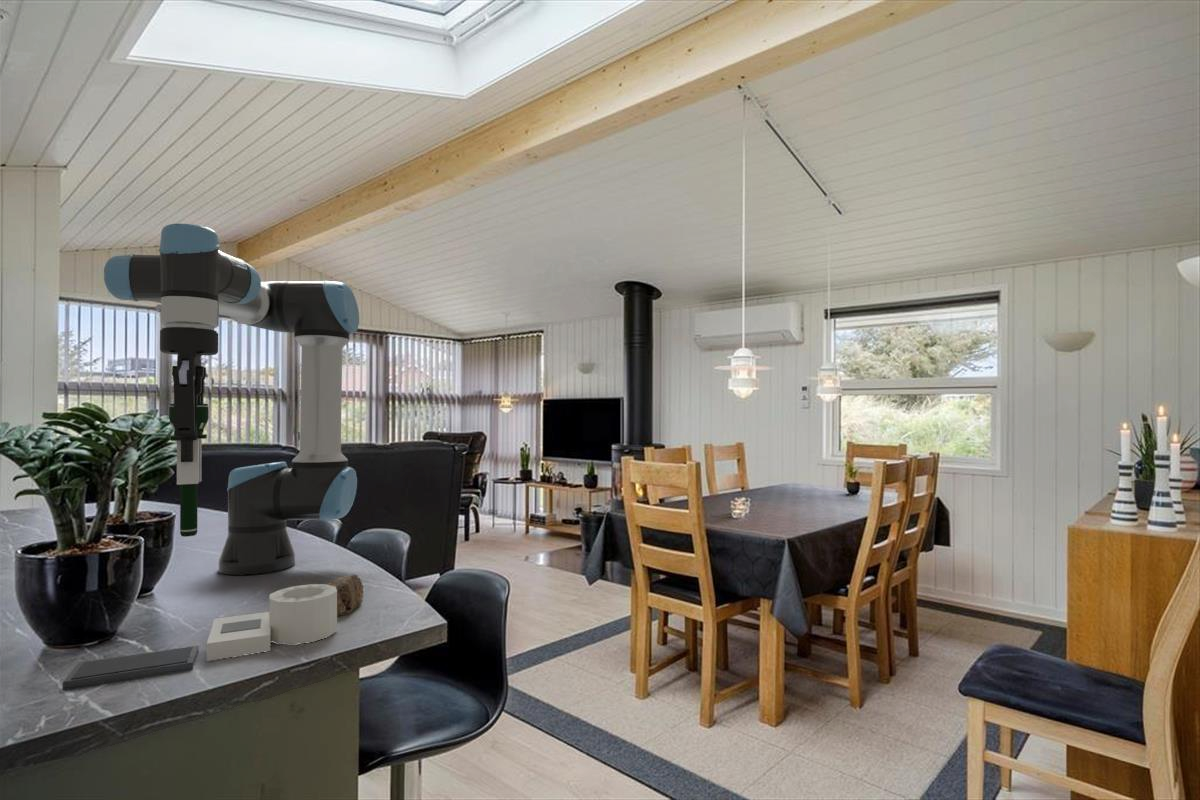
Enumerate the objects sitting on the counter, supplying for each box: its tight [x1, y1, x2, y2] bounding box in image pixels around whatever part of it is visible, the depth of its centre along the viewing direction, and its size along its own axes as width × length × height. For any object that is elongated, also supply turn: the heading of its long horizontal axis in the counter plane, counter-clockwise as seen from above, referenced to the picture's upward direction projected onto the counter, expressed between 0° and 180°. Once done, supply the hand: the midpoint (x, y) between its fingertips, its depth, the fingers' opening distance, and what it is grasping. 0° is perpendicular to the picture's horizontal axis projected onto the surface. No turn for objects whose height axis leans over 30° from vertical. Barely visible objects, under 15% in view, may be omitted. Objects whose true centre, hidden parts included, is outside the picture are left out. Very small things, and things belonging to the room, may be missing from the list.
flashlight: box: [168, 403, 210, 537], centre depth 98 cm, size 5×5×20 cm
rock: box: [327, 573, 364, 617], centre depth 117 cm, size 15×10×6 cm
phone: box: [62, 644, 200, 691], centre depth 88 cm, size 7×14×1 cm, turn 116°
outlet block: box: [206, 583, 338, 662], centre depth 100 cm, size 12×17×6 cm
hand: (189, 482), depth 98 cm, fingers closed on flashlight, 2 cm apart
